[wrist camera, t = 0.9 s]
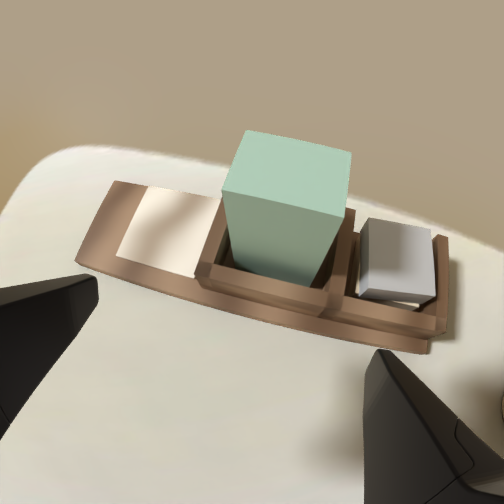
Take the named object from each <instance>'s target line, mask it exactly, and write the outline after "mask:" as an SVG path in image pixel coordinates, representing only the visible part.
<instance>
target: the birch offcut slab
mask: <svg viewBox="0 0 504 504" xmlns="http://www.w3.org/2000/svg"><path fill="white" fill-rule="evenodd" d="M359 277H360V236H359V237H358V239H357V240H356V247H355V254H354V261H353V268H352V275H351V282H350V288H349V294H348V297H351V298H356V299H360V300H364V301H369V302H373V303H377V304H382V305H386V306H391V307H395V308H400V309H404V310H409V311H413V310H414V309H416V308H418V307H419V304H416V303H406V302H397V301H389V300H380V299H372V298H363V297H359Z"/></svg>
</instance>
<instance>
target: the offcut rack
mask: <svg viewBox="0 0 504 504" xmlns="http://www.w3.org/2000/svg"><path fill="white" fill-rule="evenodd" d="M355 212H356V210H354V209H350V208H346V207H345V215H344V219H343V221H342V223H341V225H340V228H339V230H338V232H337V234H336V236H335V238H334V240H333V242H332V244H331V246H330V248H329V250H328V252H327V254H326V256H325V258H324V260H323V262H322V264H321V266H320V268H319V270H318V272H317V274H316V276H315V277H314V279H313V281H312V283H311V285H310V287H305V286H301V285H297V284H293V283H288V282H284V281H280V280H276V279H272V278H268V277H264V276H260V275H256V274H252V273H248V272H244V271H240V270H236V269H235V263H234V258H233V252H232V247H231V241H230V236H229V230H228V225H227V219H226V213H225V208H224V202H223V196H222V199H221V200H220V199H215V198H211V197H206V196H201V195H196V194H191V193H186V192H180V191H175V190H170V189H165V188H159V187H154V186H143V185H138V184H132V183H126V182H121V181H114V182H113V184H112V186H111V188H110V189H109V191H108V193H107V195H106V197H105V199H104V200H103V202H102V204H101V206H100V208H99V210H98V212H97V214H96V216H95V218H94V220H93V222H92V224H91V226H90V228H89V230H88V232H87V234H86V236H85V238H84V240H83V242H82V245H81V247H80V249H79V251H78V253H77V256H76V258H75V260H74V261H75V262H77V263H78V264H79V265H81V266H84V267H87V268H90V269H92V270H95V271H98V272H101V273H104V274H106V275H109V276H112V277H115V278H118V279H121V280H124V281H127V282H130V283H133V284H136V285H139V286H142V287H145V288H148V289H151V290H155V291H158V292H161V293H164V294H167V295H171V296H174V297H177V298H180V299H184V300H187V301H191V302H194V303H197V304H201V305H204V306H208V307H211V308H215V309H218V310H222V311H225V312H229V313H233V314H236V315H240V316H244V317H248V318H252V319H255V320H259V321H263V322H267V323H271V324H275V325H279V326H283V327H287V328H291V329H296V330H300V331H304V332H309V333H313V334H317V335H322V336H326V337H331V338H336V339H340V340H345V341H350V342H355V343H360V344H365V345H370V346H375V347H380V348H386V349H391V350H397V351H403V352H408V353H414V354H424V353H426V351H427V344H428V339H430V338H432V337H435V336H438V335H441V334H444V333H446V326H447V312H448V290H449V249H448V237H446V236H442V235H439V234H438V235H437V236H436V237H434V238H433V239H432V248H433V260H434V274H435V294H436V296H435V297H433V298H432V299H430V300H428V301H426V302H425V303H423V304H419V307H418V308H416V309H414V310H413V311H409V310H404V309H400V308H395V307H391V306H386V305H382V304H377V303H373V302H369V301H364V300H360V299H356V298H351V297H348V294H349V288H350V282H351V275H352V268H353V261H354V254H355V247H356V240H357V239H358V237H359V236H360V233H357V232H353V230H354V221H355Z"/></svg>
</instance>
